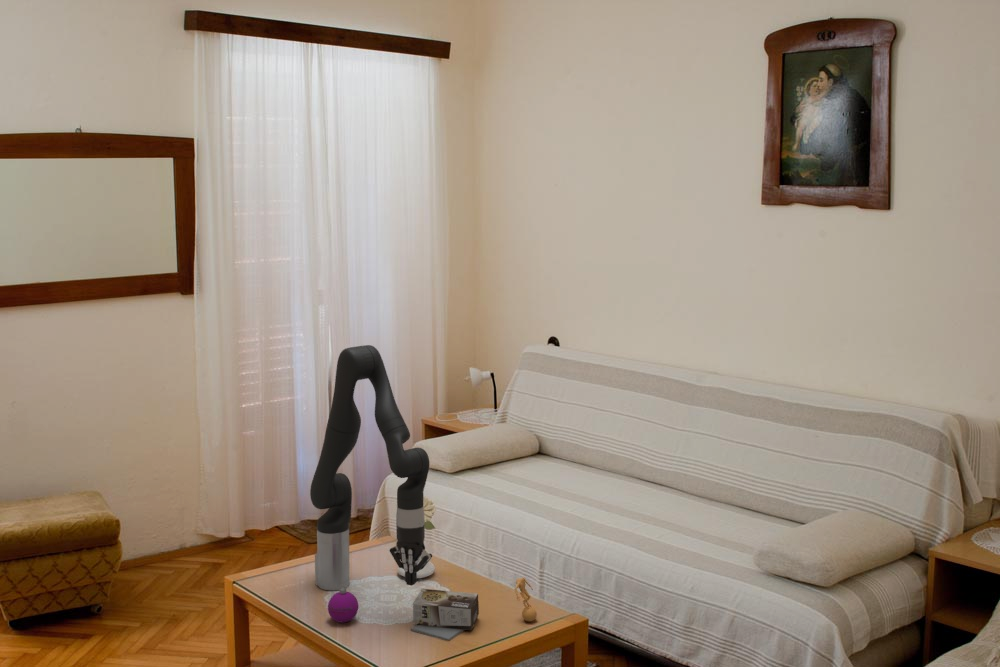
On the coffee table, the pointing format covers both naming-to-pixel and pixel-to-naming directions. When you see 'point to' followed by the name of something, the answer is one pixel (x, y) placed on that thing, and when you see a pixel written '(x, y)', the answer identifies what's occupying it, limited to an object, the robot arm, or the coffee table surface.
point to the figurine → (529, 611)
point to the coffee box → (446, 609)
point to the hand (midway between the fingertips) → (411, 584)
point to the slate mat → (437, 631)
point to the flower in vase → (428, 514)
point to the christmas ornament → (343, 606)
